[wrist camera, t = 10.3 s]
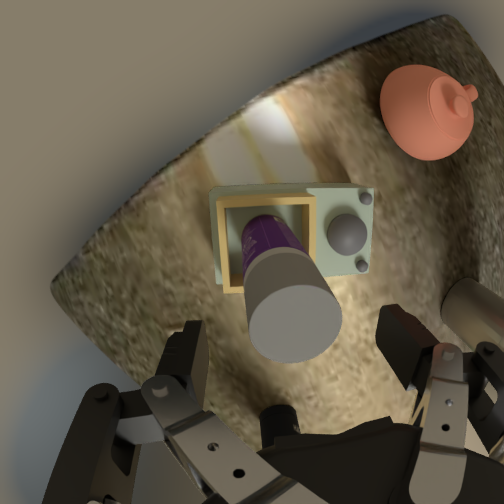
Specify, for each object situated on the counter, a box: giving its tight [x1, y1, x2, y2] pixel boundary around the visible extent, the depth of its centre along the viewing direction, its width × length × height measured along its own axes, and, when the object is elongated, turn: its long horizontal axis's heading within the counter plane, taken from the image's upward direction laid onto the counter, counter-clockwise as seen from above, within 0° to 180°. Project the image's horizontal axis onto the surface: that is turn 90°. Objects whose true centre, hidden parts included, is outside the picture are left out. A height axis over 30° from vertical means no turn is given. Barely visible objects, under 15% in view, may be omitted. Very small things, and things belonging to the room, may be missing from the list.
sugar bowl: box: [380, 65, 478, 160], centre depth 24 cm, size 12×14×10 cm
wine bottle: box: [260, 405, 301, 449], centre depth 29 cm, size 6×6×30 cm
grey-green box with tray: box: [209, 183, 374, 293], centre depth 28 cm, size 16×9×9 cm, turn 93°
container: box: [241, 214, 342, 363], centre depth 20 cm, size 5×5×15 cm
